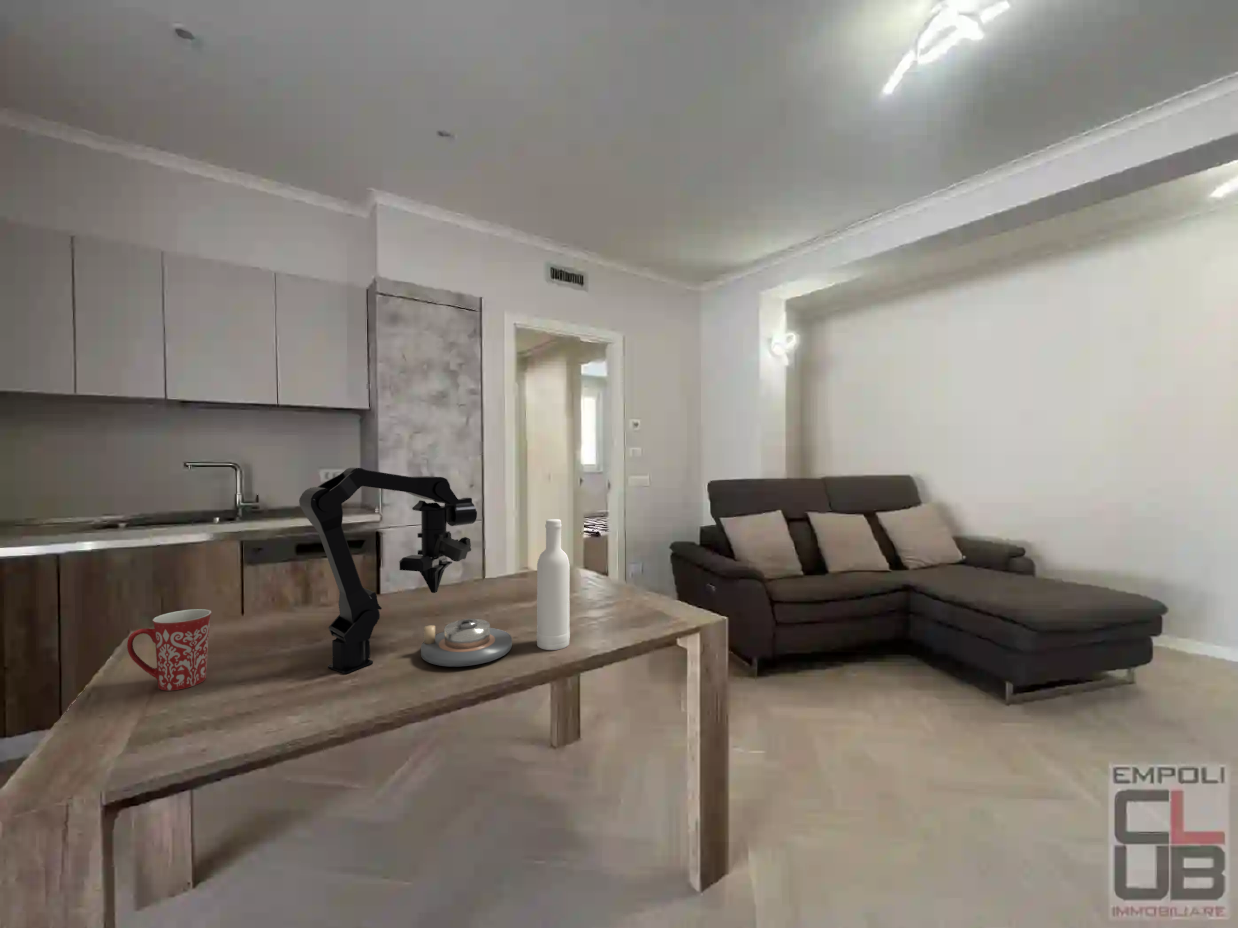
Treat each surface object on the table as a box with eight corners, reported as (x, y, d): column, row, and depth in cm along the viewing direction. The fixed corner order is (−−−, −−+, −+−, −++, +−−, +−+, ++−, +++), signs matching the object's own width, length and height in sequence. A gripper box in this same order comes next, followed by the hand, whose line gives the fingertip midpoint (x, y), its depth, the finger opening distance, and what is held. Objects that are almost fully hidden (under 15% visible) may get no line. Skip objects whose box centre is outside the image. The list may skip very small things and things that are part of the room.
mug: (214, 669, 110) (213, 605, 110) (209, 685, 102) (208, 617, 102) (134, 683, 103) (133, 615, 103) (122, 702, 96) (120, 629, 95)
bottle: (566, 636, 130) (566, 517, 130) (573, 648, 123) (573, 521, 122) (534, 640, 128) (534, 518, 127) (539, 652, 120) (539, 522, 120)
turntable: (504, 665, 111) (504, 641, 110) (407, 667, 110) (407, 643, 109) (517, 632, 131) (517, 612, 130) (435, 633, 129) (435, 613, 129)
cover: (485, 648, 115) (484, 628, 115) (438, 649, 115) (438, 628, 115) (493, 633, 125) (493, 614, 125) (451, 633, 125) (451, 614, 125)
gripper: (441, 535, 115) (441, 606, 115) (483, 524, 133) (483, 585, 134) (397, 533, 118) (397, 602, 118) (444, 522, 136) (444, 582, 136)
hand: (434, 592), depth 126 cm, fingers closed
